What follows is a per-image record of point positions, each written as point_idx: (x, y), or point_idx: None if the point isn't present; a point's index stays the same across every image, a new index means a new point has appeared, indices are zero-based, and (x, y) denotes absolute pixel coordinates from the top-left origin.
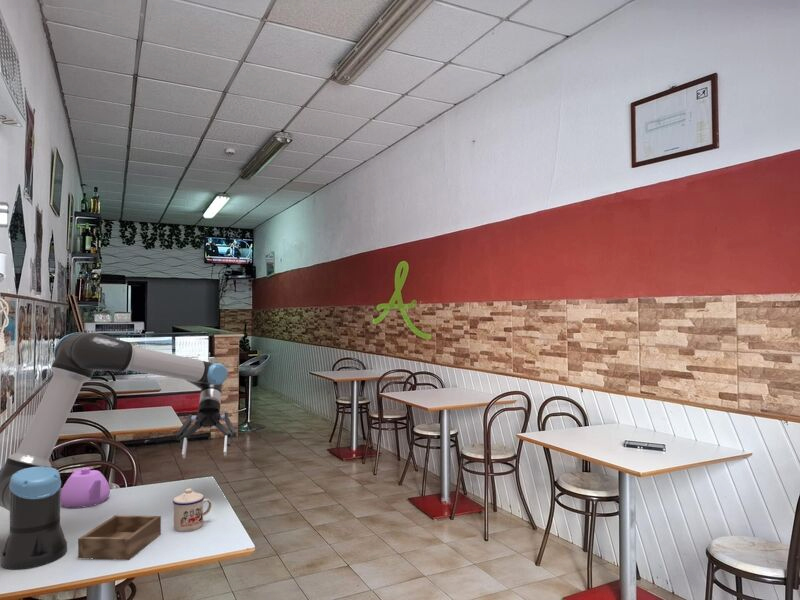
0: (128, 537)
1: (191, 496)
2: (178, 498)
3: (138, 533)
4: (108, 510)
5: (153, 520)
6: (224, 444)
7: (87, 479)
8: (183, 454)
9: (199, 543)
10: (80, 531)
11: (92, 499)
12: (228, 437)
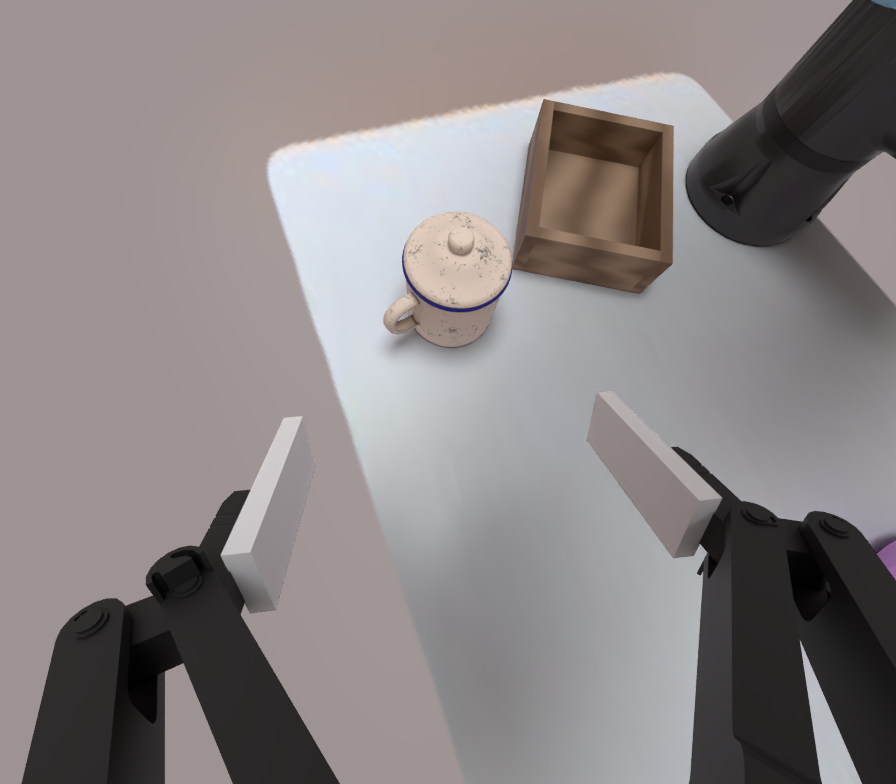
0: (550, 108)
1: (441, 226)
2: (489, 232)
3: (538, 135)
4: (772, 499)
5: (533, 203)
6: (283, 462)
7: None
8: (600, 395)
9: (390, 197)
10: (743, 325)
11: (885, 551)
12: (219, 557)
